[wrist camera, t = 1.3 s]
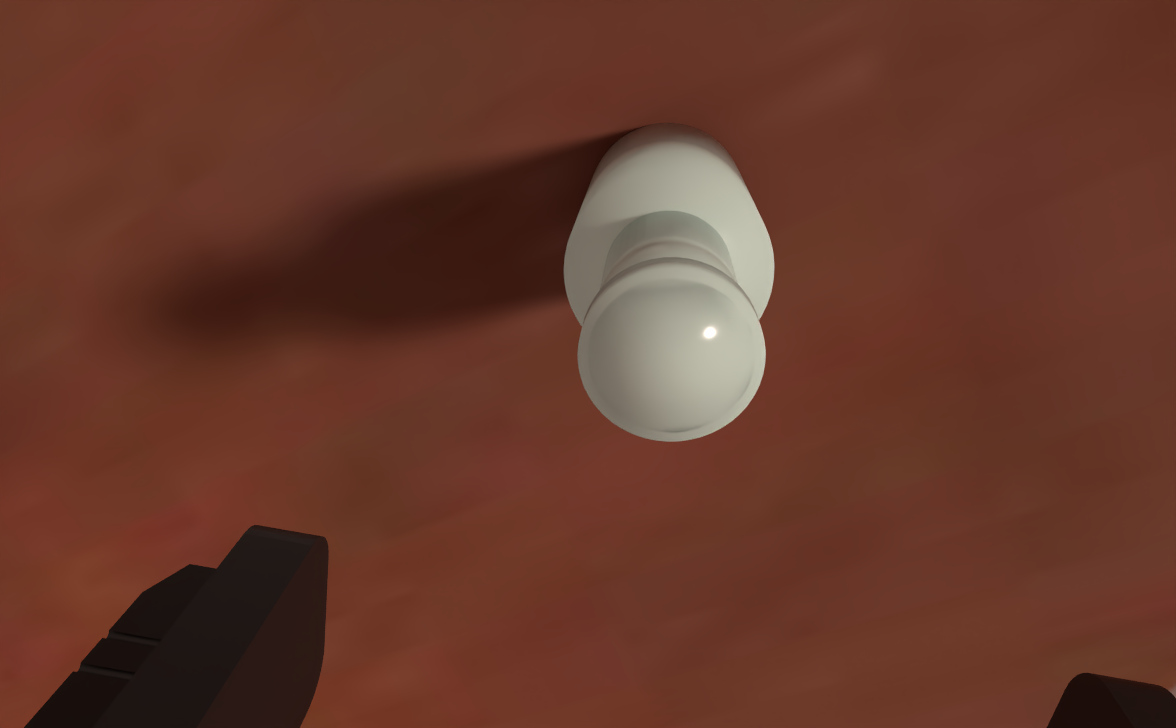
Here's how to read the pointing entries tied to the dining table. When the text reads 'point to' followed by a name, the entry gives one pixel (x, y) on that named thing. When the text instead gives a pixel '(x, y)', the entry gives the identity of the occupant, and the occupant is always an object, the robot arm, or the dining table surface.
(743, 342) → the bottle
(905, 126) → the dining table surface
